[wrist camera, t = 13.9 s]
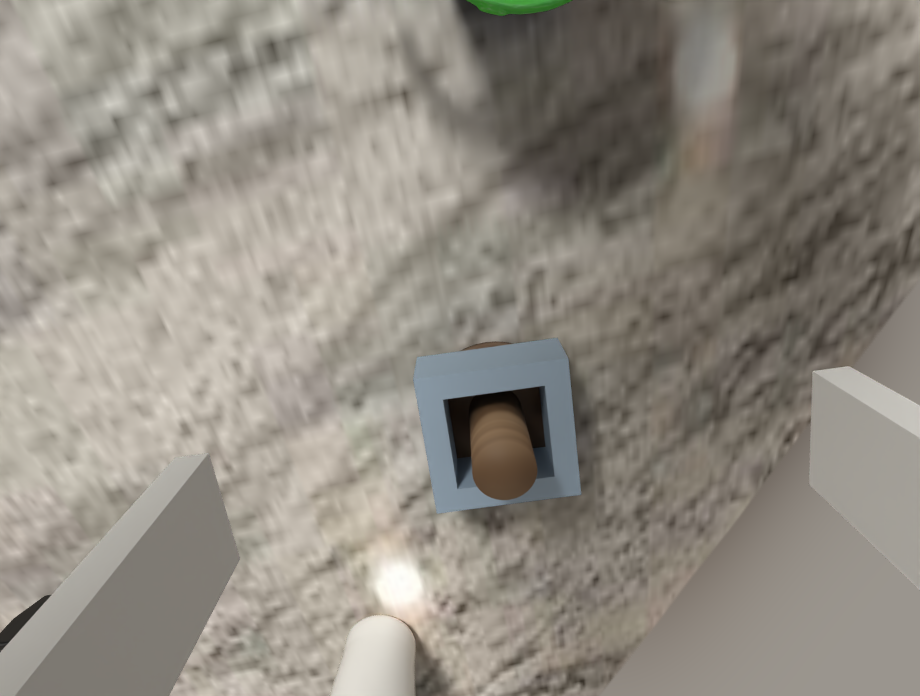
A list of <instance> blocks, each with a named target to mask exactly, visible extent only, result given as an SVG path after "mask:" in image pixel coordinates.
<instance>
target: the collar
mask: <svg viewBox="0 0 920 696" xmlns="http://www.w3.org/2000/svg"><path fill="white" fill-rule="evenodd" d="M413 381H414V386H415V392H416V398H417V403H418V409H419V415H420V420H421V426H422V432H423V437H424V443H425V448H426V454H427V460H428V465H429V471H430V477H431V482H432V488H433V494H434V499H435V505H436V511H437V513H445V512H453V511H460V510H468V509H476V508H483V507H491V506H499V505H507V504H514V503H522V502H530V501H537V500H545V499H553V498H560V497H568V496H576V495H581V487H580V476H579V466H578V455H577V444H576V434H575V423H574V413H573V402H572V392H571V381H570V371H569V360H568V357H567V355H566V353H565V351H564V349H563V347H562V346H561V344H560V342H559V340H558V338H552V339H545V340H538V341H531V342H523V343H516V344H509V345H502V346H495V347H487V348H480V349H473V350H466V351H459V352H451V353H444V354H437V355H430V356H423V357H417V361H416V367H415V372H414V378H413ZM532 387H539V392H540V401H541V410H542V419H543V428H544V437H545V446H546V447H539V448H533V452H534V456H535V459H536V463H537V477H536V480H535V482H534V484H533V486H532V487H531V488H530V489H529V490H528V491H527V492H526V493H525V494H523V495H522V496H520V497H518V498H515V499H510V500H497V499H493V498H491V497H488V496H487V495H485V494H484V493H482V492H481V491H480V490H479V489H478V487H477V486H476V484H475V482H474V480H473V475H472V459H471V457H464V458H457V455H456V448H455V442H454V436H453V430H452V423H451V417H450V411H449V405H448V399H452V398H459V397H466V396H474V395H481V394H488V393H496V392H503V391H510V390H518V389H525V388H532Z"/></svg>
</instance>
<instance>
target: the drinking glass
mask: <svg viewBox="0 0 920 696" xmlns="http://www.w3.org/2000/svg"><path fill="white" fill-rule="evenodd" d="M415 655H416V642H415V638H414V635H413V633H412V631H411V630H410V628H409V627H408V626H407V625H406V624H405V623H404V622H402V621H401V620H399V619H397V618H394V617H392V616H387V615H373V616H369V617H366V618H364V619H362V620H360V621H359V622H357V623H356V624H355V625H354V626H353V627H352V628H351V630H350V631H349V633H348V635H347V638H346V641H345V645H344V650H343V655H342V658H341V661H340V664H339V667H338V670H337V673H336V677H335V680H334V683H333V686H332V689H331V692H330V695H329V696H416V695H415Z"/></svg>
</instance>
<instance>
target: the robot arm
mask: <svg viewBox="0 0 920 696" xmlns="http://www.w3.org/2000/svg"><path fill="white" fill-rule="evenodd" d="M809 485H810V486H811V487H812V488H813V489H814V490H815V491H816V492H817V493H818V494H819V495H820V496H821V497H822V498H823V499H824V500H825V501H826V502H828V503H829V504H830V505H831V506H832V507H833V508H834V509H835V510H836V511H837V512H838V513H839V514H840V515H841V516H842V517H843V518H844V519H845V520H846V521H848V522H849V523H850V524H851V525H852V526H853V527H854V528H855V529H856V530H857V531H858V532H859V533H860V534H861V535H862V536H863V537H864V538H865V539H866V540H867V541H869V542H870V543H871V544H872V545H873V546H874V547H875V548H876V549H877V550H878V551H879V552H880V553H881V554H882V555H883V556H884V557H886V558H887V560H889V561H890V562H891V563H892V564H893V565H894V566H895V567H896V568H897V569H898V570H899V571H900V572H901V573H902V574H903V575H904V576H905V577H906V578H908V580H910V581H911V582H912V583H913V584H914V585H915V586H916V587H917V588H918V589H919V590H920V405H918V404H916V403H915V402H913V401H911V400H909V399H907V398H906V397H904V396H902V395H900V394H898V393H897V392H895V391H893V390H891V389H889V388H888V387H886V386H884V385H882V384H880V383H879V382H877V381H875V380H873V379H871V378H870V377H868V376H866V375H864V374H862V373H860V372H859V371H857V370H855V369H853V368H852V367H850V366H846V367H839V368H832V369H824V370H817V371H813V372H812V404H811V436H810V469H809ZM239 560H240V556H239V553H238V550H237V546H236V543H235V540H234V536H233V533H232V529H231V526H230V523H229V519H228V516H227V513H226V509H225V506H224V502H223V499H222V496H221V492H220V489H219V486H218V482H217V479H216V475H215V472H214V469H213V465H212V462H211V459H210V455H209V453H205V454H198V455H190V456H183V457H176V458H174V459H173V460H172V461H171V462H170V464H169V465H168V466H167V467H166V468H165V469H164V470H163V471H162V472H161V474H160V475H159V476H158V477H157V478H156V479H155V480H154V481H153V483H152V484H151V485H150V486H149V487H148V488H147V489H146V490H145V491H144V493H143V494H142V495H141V496H140V497H139V498H138V499H137V500H136V501H135V503H134V504H133V505H132V506H131V507H130V508H129V509H128V510H127V512H126V513H125V514H124V515H123V516H122V517H121V518H120V519H119V520H118V522H117V523H116V524H115V525H114V526H113V527H112V528H111V529H110V530H109V532H108V533H107V534H106V535H105V536H104V537H103V538H102V539H101V540H100V542H99V543H98V544H97V545H96V546H95V547H94V548H93V549H92V551H91V552H90V553H89V554H88V555H87V556H86V557H85V558H84V559H83V561H82V562H81V563H80V564H79V565H78V566H77V567H76V568H75V569H74V571H73V572H72V573H71V574H70V575H69V576H68V577H67V578H66V580H65V581H64V582H63V583H62V584H61V585H60V586H59V587H58V588H57V590H56V591H55V592H54V593H53V594H52V595H47V596H44V597H43V598H41V599H40V600H39V601H37V602H36V603H34V604H33V605H32V606H30V607H29V608H28V609H26V610H25V611H23V612H22V613H21V614H19V615H18V616H17V617H15V618H14V619H13V620H12V621H11V622H10V623H9V624H8V625H7V626H6V627H5V628H4V630H3V631H2V632H1V633H0V696H169V695H170V693H171V691H172V689H173V687H174V685H175V683H176V681H177V679H178V677H179V675H180V673H181V672H182V670H183V668H184V666H185V664H186V662H187V660H188V658H189V656H190V654H191V652H192V650H193V648H194V646H195V645H196V643H197V641H198V639H199V637H200V635H201V633H202V631H203V629H204V627H205V625H206V623H207V621H208V619H209V618H210V616H211V614H212V612H213V610H214V608H215V606H216V604H217V602H218V600H219V598H220V596H221V594H222V592H223V591H224V589H225V587H226V585H227V583H228V581H229V579H230V577H231V575H232V573H233V571H234V569H235V567H236V566H237V564H238V562H239Z"/></svg>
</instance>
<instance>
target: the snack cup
mask: <svg viewBox="0 0 920 696" xmlns="http://www.w3.org/2000/svg"><path fill="white" fill-rule="evenodd" d="M467 1H468V2H470V3H472V4H474V5H475V6H477V7H478V9H479V10H480V11H483V12H486V13H490V14H494V15H499V16H504V15H507V14H529V13H536V12H544V11H548V10H551V9H555V8H557V7H559V6H561V5H564V4H566V3H568V2H570V1H572V0H467Z"/></svg>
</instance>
